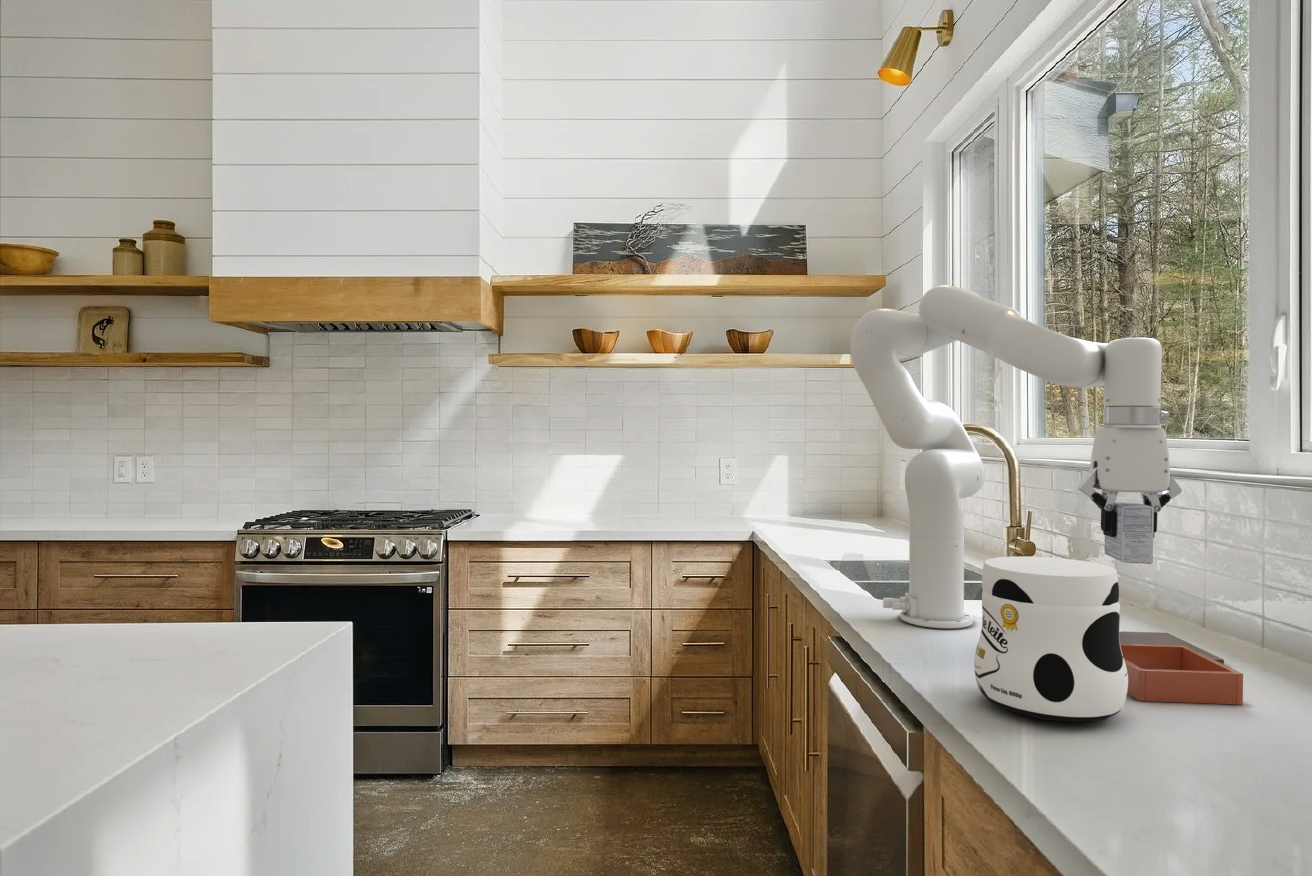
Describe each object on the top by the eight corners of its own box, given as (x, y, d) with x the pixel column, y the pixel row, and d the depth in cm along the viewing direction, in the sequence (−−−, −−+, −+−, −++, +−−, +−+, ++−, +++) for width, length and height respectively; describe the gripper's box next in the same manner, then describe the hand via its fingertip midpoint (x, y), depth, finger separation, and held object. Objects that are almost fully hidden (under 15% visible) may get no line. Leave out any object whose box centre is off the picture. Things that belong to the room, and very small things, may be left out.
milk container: (944, 696, 105) (945, 559, 104) (1040, 679, 111) (1040, 551, 111) (1057, 743, 89) (1058, 582, 88) (1161, 721, 96) (1162, 572, 95)
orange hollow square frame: (1138, 700, 103) (1138, 670, 103) (1092, 669, 116) (1092, 642, 116) (1243, 704, 101) (1243, 673, 101) (1184, 672, 115) (1184, 645, 115)
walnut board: (1069, 661, 121) (1069, 654, 121) (1031, 634, 137) (1031, 628, 137) (1224, 666, 118) (1224, 659, 118) (1167, 638, 134) (1167, 632, 134)
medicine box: (1153, 564, 119) (1155, 506, 118) (1120, 563, 120) (1122, 505, 119) (1134, 556, 126) (1135, 501, 126) (1103, 554, 127) (1104, 500, 127)
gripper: (1177, 419, 125) (1174, 534, 125) (1063, 418, 127) (1061, 531, 128) (1204, 419, 118) (1200, 541, 118) (1082, 417, 120) (1079, 538, 120)
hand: (1128, 535), depth 123 cm, fingers closed on medicine box, 4 cm apart
